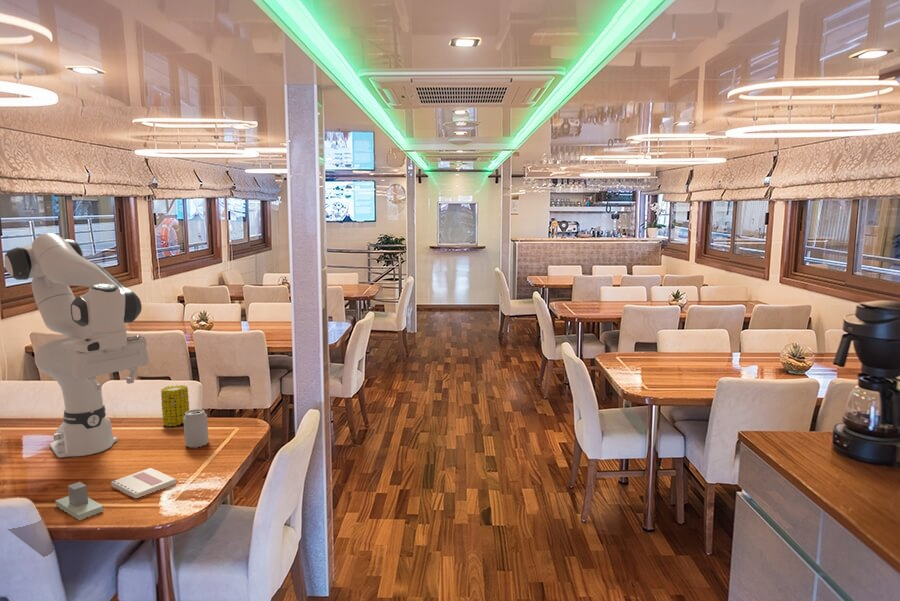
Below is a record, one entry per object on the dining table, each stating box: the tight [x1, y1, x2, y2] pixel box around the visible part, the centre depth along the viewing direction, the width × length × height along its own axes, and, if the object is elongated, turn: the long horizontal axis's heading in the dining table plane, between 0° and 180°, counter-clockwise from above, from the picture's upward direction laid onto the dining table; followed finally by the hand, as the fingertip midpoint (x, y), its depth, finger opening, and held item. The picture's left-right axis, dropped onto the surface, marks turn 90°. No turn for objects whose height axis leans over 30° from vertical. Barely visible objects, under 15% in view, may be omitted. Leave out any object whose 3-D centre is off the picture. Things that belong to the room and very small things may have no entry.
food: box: [160, 384, 190, 428], centre depth 230 cm, size 15×12×10 cm
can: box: [183, 408, 209, 449], centre depth 207 cm, size 8×8×12 cm
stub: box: [55, 481, 104, 521], centre depth 163 cm, size 14×6×7 cm, turn 54°
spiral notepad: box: [111, 467, 177, 499], centre depth 177 cm, size 14×12×2 cm
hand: (114, 386), depth 176 cm, fingers open, 8 cm apart
